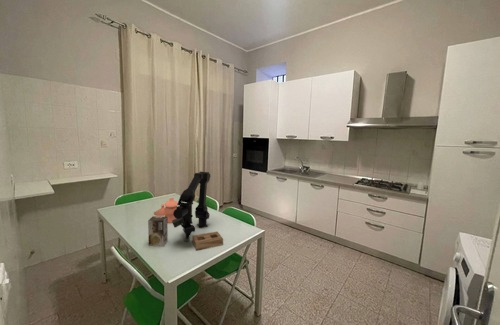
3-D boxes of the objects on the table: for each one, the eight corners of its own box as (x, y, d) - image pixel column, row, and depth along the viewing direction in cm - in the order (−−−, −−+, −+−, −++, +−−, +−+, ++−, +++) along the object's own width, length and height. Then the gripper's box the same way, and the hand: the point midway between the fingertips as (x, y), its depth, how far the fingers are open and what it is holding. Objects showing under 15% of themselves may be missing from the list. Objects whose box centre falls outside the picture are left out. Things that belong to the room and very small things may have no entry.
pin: (183, 240, 126) (183, 226, 125) (188, 239, 127) (188, 226, 126) (184, 242, 123) (184, 228, 122) (189, 242, 125) (189, 228, 124)
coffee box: (168, 241, 124) (168, 216, 123) (163, 247, 118) (163, 220, 116) (152, 241, 124) (152, 215, 122) (148, 246, 117) (147, 220, 116)
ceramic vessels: (145, 214, 168) (145, 192, 166) (171, 209, 182) (171, 189, 180) (158, 228, 142) (158, 202, 140) (187, 222, 156) (187, 198, 154)
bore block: (192, 241, 125) (192, 235, 125) (217, 237, 132) (217, 231, 132) (196, 250, 115) (196, 243, 115) (222, 245, 123) (223, 238, 122)
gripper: (171, 209, 128) (171, 233, 130) (175, 220, 112) (175, 247, 113) (189, 207, 133) (189, 230, 135) (195, 217, 117) (195, 243, 118)
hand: (186, 237), depth 125 cm, fingers closed on pin, 3 cm apart
